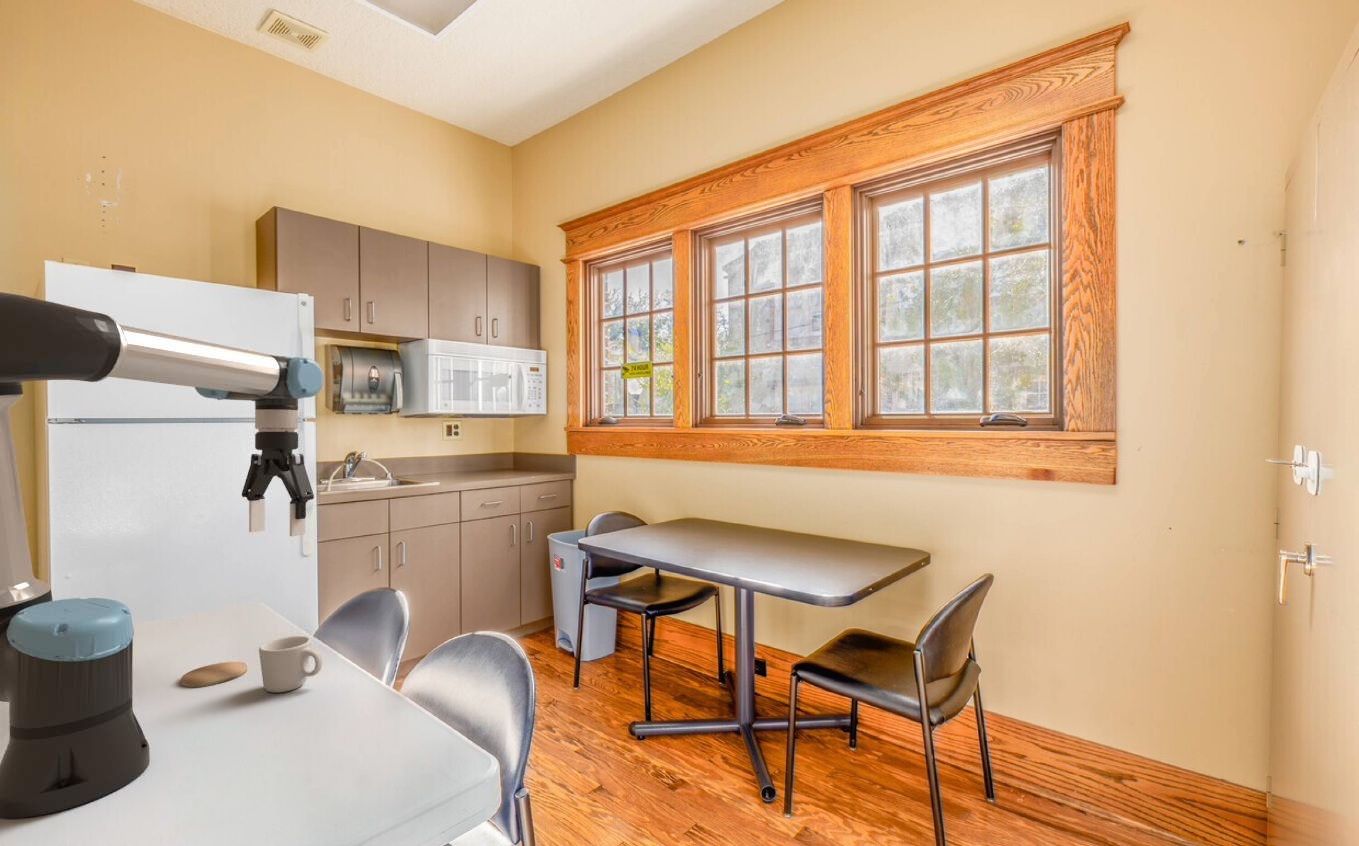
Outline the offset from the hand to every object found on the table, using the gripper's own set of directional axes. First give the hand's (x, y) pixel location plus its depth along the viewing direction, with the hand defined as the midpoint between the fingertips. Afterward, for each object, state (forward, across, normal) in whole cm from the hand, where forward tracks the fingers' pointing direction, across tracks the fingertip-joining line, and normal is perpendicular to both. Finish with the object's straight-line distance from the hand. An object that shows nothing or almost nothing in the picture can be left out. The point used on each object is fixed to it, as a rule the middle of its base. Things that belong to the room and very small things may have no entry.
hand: (276, 533), depth 128 cm
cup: (+26, -19, +8) cm, 33 cm away
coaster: (+25, 0, +11) cm, 28 cm away
